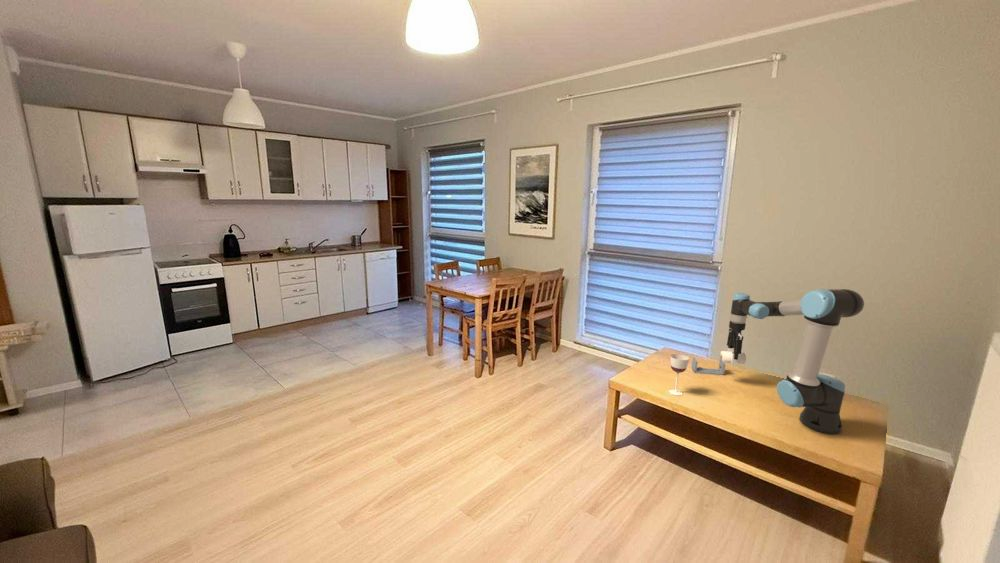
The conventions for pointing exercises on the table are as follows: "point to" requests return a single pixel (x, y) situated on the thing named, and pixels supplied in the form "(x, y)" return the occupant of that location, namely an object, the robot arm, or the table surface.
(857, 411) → the table surface
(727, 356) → the paper roll
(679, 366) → the wineglass
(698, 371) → the holder
